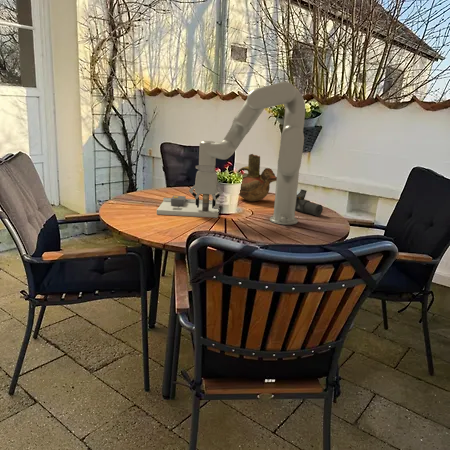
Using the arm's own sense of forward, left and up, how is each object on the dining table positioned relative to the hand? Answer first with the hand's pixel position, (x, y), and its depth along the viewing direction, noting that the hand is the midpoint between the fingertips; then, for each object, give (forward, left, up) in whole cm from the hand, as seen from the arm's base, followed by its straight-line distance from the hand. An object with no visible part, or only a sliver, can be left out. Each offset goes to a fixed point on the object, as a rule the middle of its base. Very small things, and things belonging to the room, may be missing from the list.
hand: (205, 207), depth 195 cm
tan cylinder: (0, 0, -2) cm, 2 cm away
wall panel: (+8, +8, -4) cm, 12 cm away
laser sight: (+18, -47, -4) cm, 51 cm away
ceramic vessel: (+36, -24, -4) cm, 43 cm away
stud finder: (+10, +14, -1) cm, 17 cm away
